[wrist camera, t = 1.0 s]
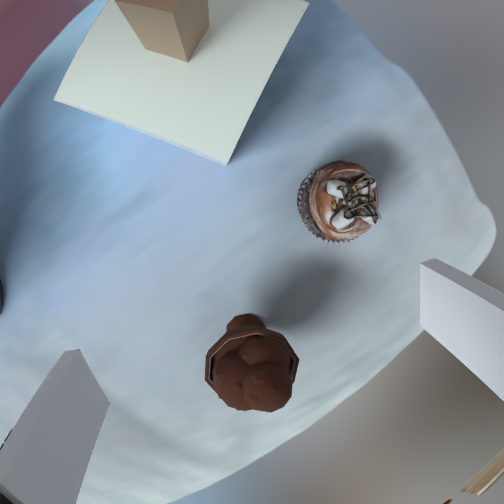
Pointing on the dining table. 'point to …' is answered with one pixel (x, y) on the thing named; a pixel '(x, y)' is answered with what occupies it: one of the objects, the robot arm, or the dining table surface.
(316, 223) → the cupcake
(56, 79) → the dining table surface
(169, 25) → the white box with knob
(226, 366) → the ice cream bowl
